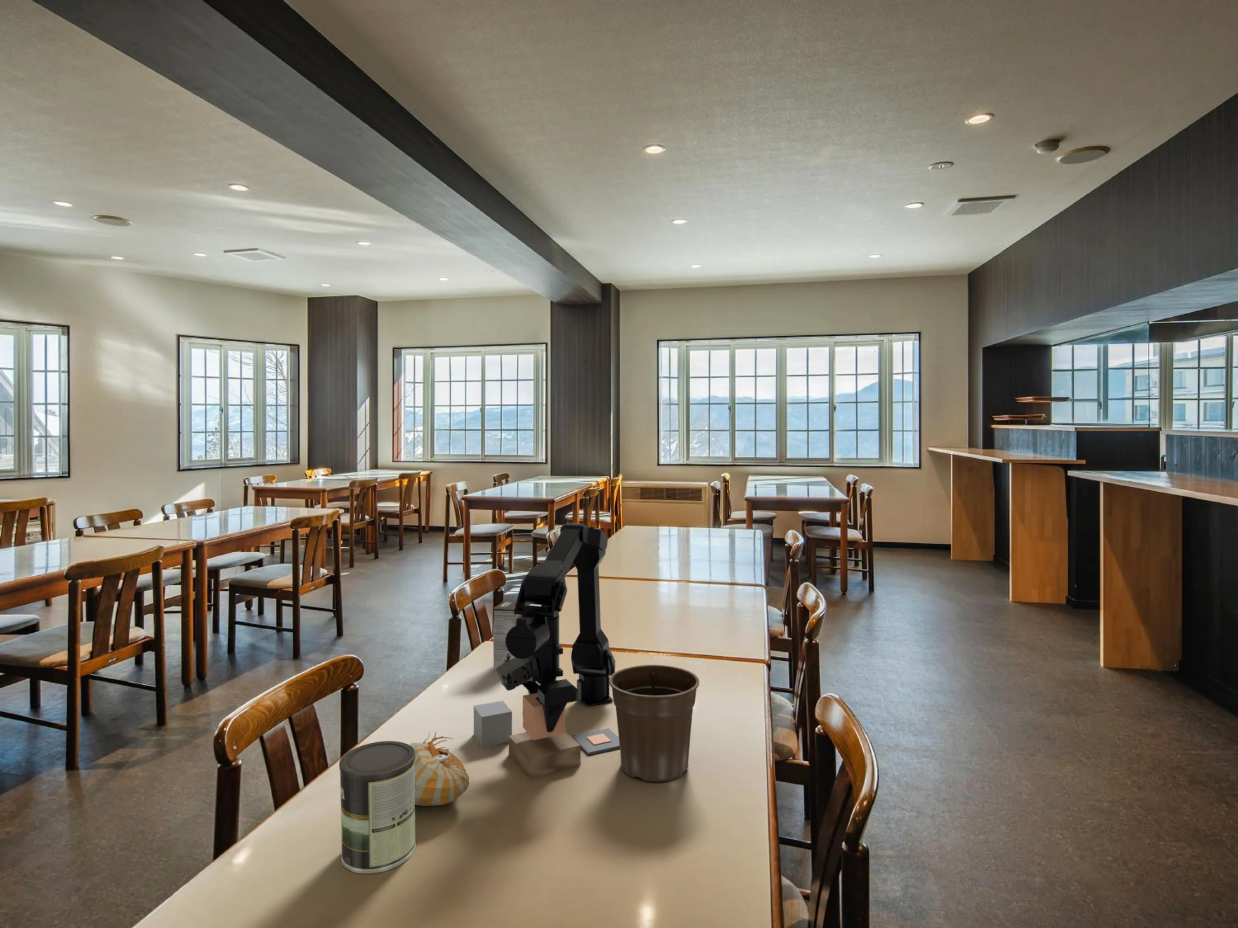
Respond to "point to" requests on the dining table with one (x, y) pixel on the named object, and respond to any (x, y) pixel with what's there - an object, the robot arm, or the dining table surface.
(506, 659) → the coffee box
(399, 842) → the coffee can
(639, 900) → the dining table surface
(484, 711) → the slate grey cube
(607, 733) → the card
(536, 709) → the terracotta cube
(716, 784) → the dining table surface
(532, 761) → the tan block
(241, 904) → the dining table surface
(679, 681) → the plant pot
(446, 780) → the nautilus
